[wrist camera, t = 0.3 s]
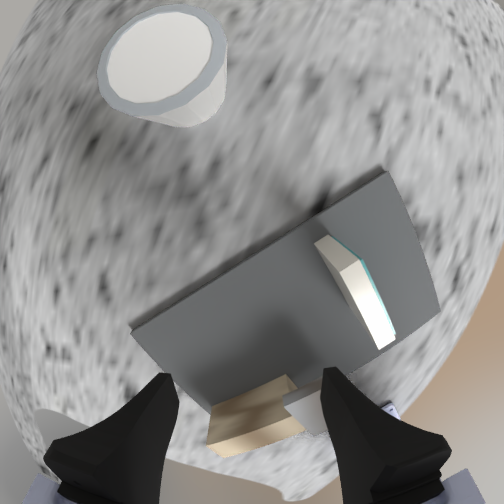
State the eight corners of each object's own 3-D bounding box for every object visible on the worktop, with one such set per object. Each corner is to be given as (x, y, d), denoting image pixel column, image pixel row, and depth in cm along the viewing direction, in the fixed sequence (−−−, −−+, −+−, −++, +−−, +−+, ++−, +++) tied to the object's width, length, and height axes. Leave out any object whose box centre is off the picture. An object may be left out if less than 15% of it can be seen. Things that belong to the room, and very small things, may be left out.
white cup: (142, 62, 16) (100, 24, 9) (231, 45, 16) (222, -8, 9) (144, 144, 18) (94, 131, 11) (239, 129, 17) (233, 102, 11)
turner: (234, 425, 24) (232, 463, 19) (203, 398, 23) (195, 438, 18) (343, 376, 22) (359, 415, 17) (320, 342, 21) (335, 381, 16)
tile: (364, 297, 20) (398, 337, 14) (349, 307, 20) (379, 350, 14) (330, 232, 19) (362, 257, 13) (313, 243, 19) (339, 272, 13)
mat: (437, 308, 21) (440, 311, 21) (227, 424, 25) (226, 428, 24) (384, 171, 18) (388, 171, 17) (132, 330, 21) (130, 333, 21)
